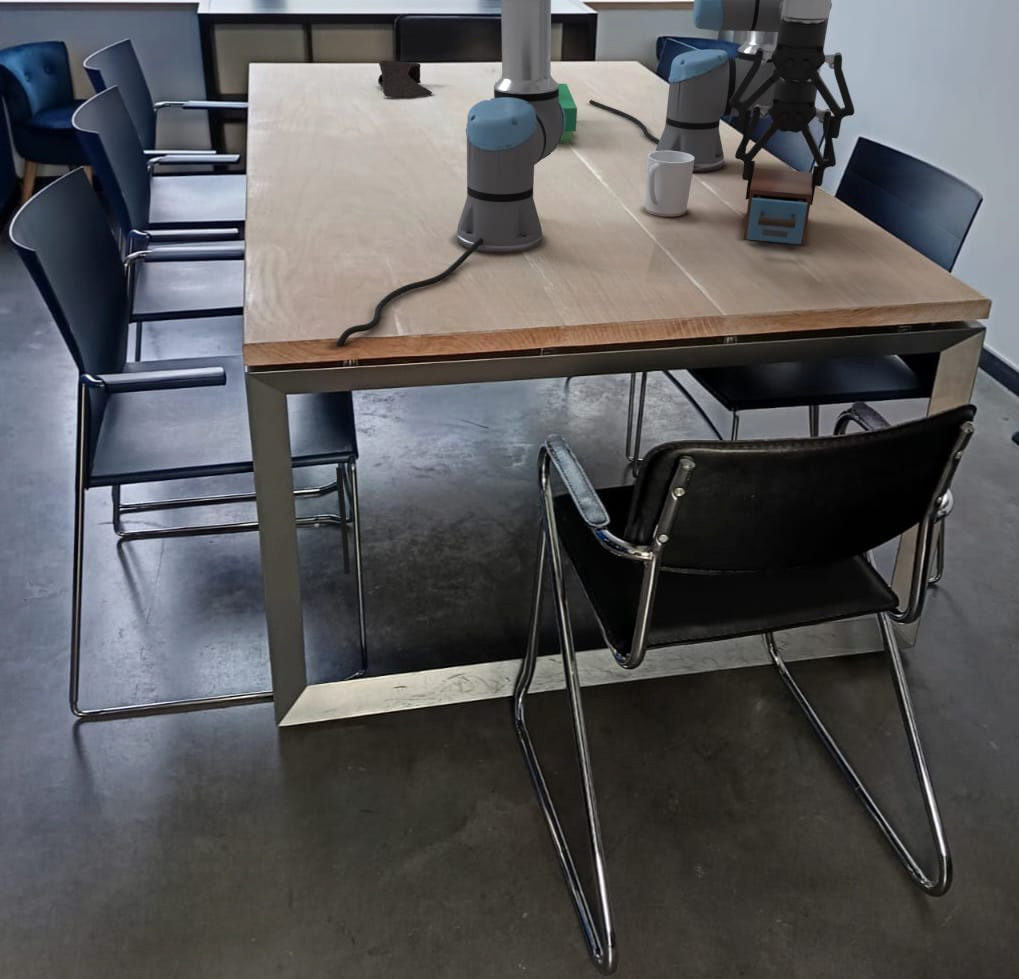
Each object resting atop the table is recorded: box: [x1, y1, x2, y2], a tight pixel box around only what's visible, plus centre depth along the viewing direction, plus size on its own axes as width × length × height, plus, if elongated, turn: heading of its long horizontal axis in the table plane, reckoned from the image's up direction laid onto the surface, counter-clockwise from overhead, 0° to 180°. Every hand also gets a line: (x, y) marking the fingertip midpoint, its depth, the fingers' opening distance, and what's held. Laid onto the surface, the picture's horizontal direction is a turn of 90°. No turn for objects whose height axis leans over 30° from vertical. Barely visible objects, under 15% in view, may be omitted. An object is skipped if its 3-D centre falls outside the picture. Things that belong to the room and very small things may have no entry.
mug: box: [644, 150, 694, 218], centre depth 209 cm, size 11×9×10 cm
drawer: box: [745, 195, 807, 245], centre depth 197 cm, size 19×10×7 cm, turn 166°
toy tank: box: [494, 81, 578, 144], centre depth 264 cm, size 18×12×35 cm
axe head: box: [377, 59, 433, 99], centre depth 299 cm, size 18×8×15 cm
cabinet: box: [742, 167, 813, 245], centre depth 202 cm, size 15×11×9 cm
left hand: (784, 154), depth 185 cm, fingers open, 13 cm apart
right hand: (778, 200), depth 206 cm, fingers closed on cabinet, 11 cm apart
